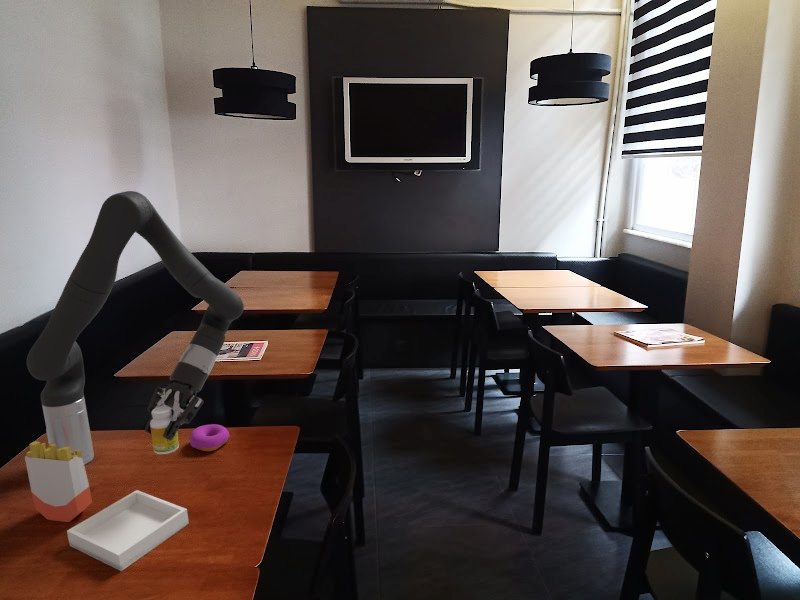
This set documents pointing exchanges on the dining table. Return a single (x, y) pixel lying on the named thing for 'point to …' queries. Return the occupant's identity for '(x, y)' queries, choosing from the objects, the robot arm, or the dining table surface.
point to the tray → (127, 529)
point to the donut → (209, 437)
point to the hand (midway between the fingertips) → (157, 435)
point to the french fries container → (57, 481)
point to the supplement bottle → (162, 431)
